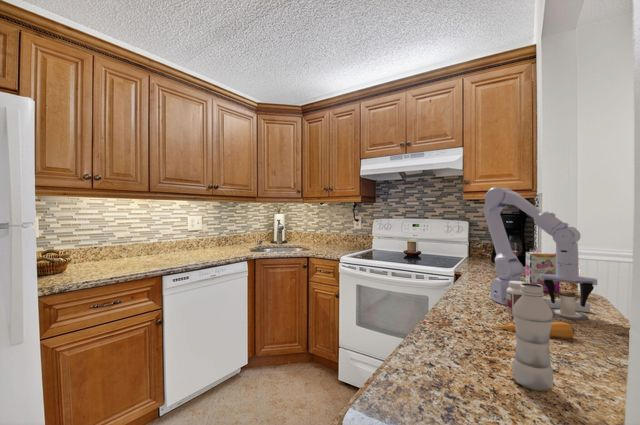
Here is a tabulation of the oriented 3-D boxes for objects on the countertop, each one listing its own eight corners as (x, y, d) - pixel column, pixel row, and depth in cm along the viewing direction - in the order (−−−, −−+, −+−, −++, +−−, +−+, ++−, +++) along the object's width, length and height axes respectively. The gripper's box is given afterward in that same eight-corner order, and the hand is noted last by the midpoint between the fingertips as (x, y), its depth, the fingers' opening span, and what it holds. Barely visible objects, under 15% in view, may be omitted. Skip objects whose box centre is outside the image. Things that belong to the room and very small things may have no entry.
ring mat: (567, 320, 91) (567, 319, 91) (541, 310, 101) (541, 309, 101) (596, 319, 92) (596, 318, 92) (567, 309, 102) (567, 307, 102)
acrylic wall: (590, 312, 99) (590, 303, 99) (539, 306, 106) (538, 297, 106) (589, 311, 99) (589, 302, 99) (538, 305, 106) (538, 297, 106)
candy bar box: (530, 291, 125) (530, 253, 125) (525, 288, 130) (524, 251, 130) (560, 292, 123) (560, 254, 123) (554, 289, 127) (553, 252, 127)
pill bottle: (532, 316, 96) (532, 282, 96) (524, 319, 93) (523, 285, 93) (511, 310, 101) (511, 279, 101) (503, 314, 98) (502, 281, 98)
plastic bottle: (504, 377, 61) (503, 281, 61) (535, 375, 61) (534, 280, 61) (529, 397, 54) (528, 290, 54) (563, 394, 55) (561, 288, 55)
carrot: (572, 340, 80) (568, 322, 82) (577, 339, 76) (573, 321, 78) (489, 335, 88) (487, 319, 90) (490, 335, 84) (487, 318, 86)
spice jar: (567, 315, 95) (567, 294, 95) (556, 311, 99) (556, 291, 99) (579, 315, 95) (578, 293, 95) (567, 311, 99) (567, 290, 99)
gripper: (592, 263, 97) (592, 303, 97) (538, 260, 104) (538, 298, 104) (599, 266, 91) (599, 310, 91) (541, 263, 98) (541, 303, 98)
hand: (567, 304), depth 97 cm, fingers open, 7 cm apart
